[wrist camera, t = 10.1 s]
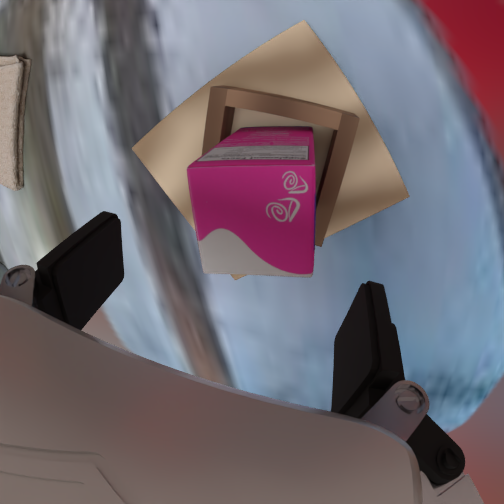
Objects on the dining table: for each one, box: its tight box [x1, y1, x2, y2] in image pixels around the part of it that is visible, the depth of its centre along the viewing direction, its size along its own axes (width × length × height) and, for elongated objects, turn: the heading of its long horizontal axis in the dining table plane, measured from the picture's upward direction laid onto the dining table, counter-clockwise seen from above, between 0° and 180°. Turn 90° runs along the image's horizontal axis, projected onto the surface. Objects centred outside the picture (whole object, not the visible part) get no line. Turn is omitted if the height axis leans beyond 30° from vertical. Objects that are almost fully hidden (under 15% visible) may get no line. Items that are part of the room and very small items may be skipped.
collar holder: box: [132, 20, 410, 280], centre depth 23 cm, size 16×18×4 cm
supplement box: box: [187, 126, 316, 277], centre depth 19 cm, size 6×6×12 cm
